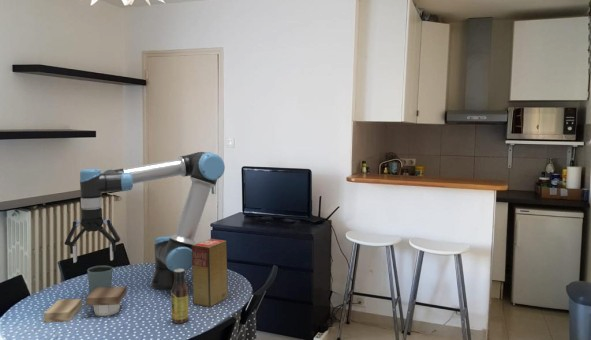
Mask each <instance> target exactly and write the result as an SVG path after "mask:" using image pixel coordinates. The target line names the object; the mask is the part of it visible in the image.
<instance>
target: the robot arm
mask: <svg viewBox="0 0 591 340" xmlns="http://www.w3.org/2000/svg"><path fill="white" fill-rule="evenodd" d="M225 168H226V167H225V162H224V160H223V158H222V157H221V155H218V154H217V153H214V152H210V151H209V152H204V151H198V152H194V153H190V154H186V155H180V156H179V157H178V158H176V159H169V160H164V161H158V162H153V163H148V164H141V165H135V166H134V165H133V166H130V167H129V166H127V167H124V168H123V167H122V168H117V169H106V170H103V172H102V170H101V169H99V168H84V169H81V170H80V173H79V176H80V177H79V186H80V187H79V189H80V207H81V211H80V212H81V214H80V215H81V220H76V219H75V220H73V221H72V227H71V228H70V231H69V234H68V235H67V237H66V239H65V241H64V245H65V246H69V254H70V255H72V259H73V264H74V263H77V261H78V254H77V251H78V250H77V244H76V242H78V241H79V239H80V237H81V236H82V235H83V234H84V233H85V232H89V233H90V232H94V233H96V232H100V234H102V236H104V237H105V238H106V239H107V240H108V241H109V242H110V243H109V259H110V261H113V260H114V252H116V250H117V245H116V244H117V243H120V241H121V237H120V236H119V234H118V233H117V231H116V229H115V227H114V225H113V224H112V219H111V218H108V219H103V209H102V206H103V199H102V198H103V197H102V193H106V192H107V193H108V192H109V193H113V192H126V191H127V192H128V191H131V190H132V189H133V187H134V184H139V183H144V182H145V183H146V182H152V181H157V180H161V179H166V178H172V177H178V176H181V177H183V178H184V177H185V178H186V177H189V179H190V181H191V186H190V188H189V191H188V194H187V198H186V199H185V202H184V205H183V208H182V211H181V214H180V217H179V220H178V224H177V227H176V230H175V232H174V234H172V235H163V236H158V237H156V238H155V239H154V245H153V246H154V271H153V275H152V278H151V288H152V289H153V290H158V291H169V290H170V291H171V290H172V287H173V284H174V270H176V269H184V270H185V272H187V271H188V270H190V269H192V245H195V244H196V241H195V236H196V233H197V231H198V228H199V225H200V222H201V220H202V219H201V218H202V215H203V212H204V210H205V206H206V203H207V201H208V198H209V195H210V191H211V189H212V188H214V187H215V186H216V184H217V183H218V180H219V179H220V178H221V177H222V176H224V175H223V174H224V173H225ZM104 224H105V226H107V227H108V229H109V231H110V233H111V234H112V235H111V234H110V233H109V232H108V231H107V230H106V229H105V228H104V227H103V225H104ZM79 225H80V226H81V227H82V229H81V230H80V231H79V232H78V234H77V235H76V236H75V237H74V238H73V235H74V233H75V232H76V230H77V227H79ZM72 238H73V239H72ZM184 279H185V280H186V278H185V276H184Z"/></svg>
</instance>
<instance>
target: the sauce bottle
mask: <svg viewBox="0 0 591 340" xmlns="http://www.w3.org/2000/svg"><path fill="white" fill-rule="evenodd" d="M185 274H186V271H185V270H184V269H176V270H174V284H173V287H172V289H171V290H170V297H171V298H170V300H171V303H170V304H171V320H172V322H173V323H174V324H183V323H186V322H187V321H188V320H189V313H190V311H189V288H188V287H189V286H188V284H187V283H186V278H185V279H184V277H185Z"/></svg>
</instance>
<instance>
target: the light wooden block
mask: <svg viewBox="0 0 591 340" xmlns="http://www.w3.org/2000/svg"><path fill="white" fill-rule="evenodd" d="M82 308H83V298H69V299H68V298H65V299H64V298H63V299H62V298H61V299H57V301H56V302H54V303H53V304H52V305H51V306H50V307H49V308H47V309H46V310H45V311H44V312H43V323H57V322H58V323H59V322H60V323H61V322H71V320H72V319H73V318H74V317H75V315H77V313H78V312H79V311H80V310H81V309H82Z"/></svg>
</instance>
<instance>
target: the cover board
mask: <svg viewBox="0 0 591 340" xmlns="http://www.w3.org/2000/svg"><path fill="white" fill-rule="evenodd" d="M126 295H127V286H111V287H96V288H95V289H94V290H93V291H92V292H91V293H90V292H89V294H88V295H87V296H86V297H85V306H86V307H88V306H89V307H91V306H93V307H94V305H119V303H120V304H121V302H122V300H123V299H124V298H125V296H126Z"/></svg>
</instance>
